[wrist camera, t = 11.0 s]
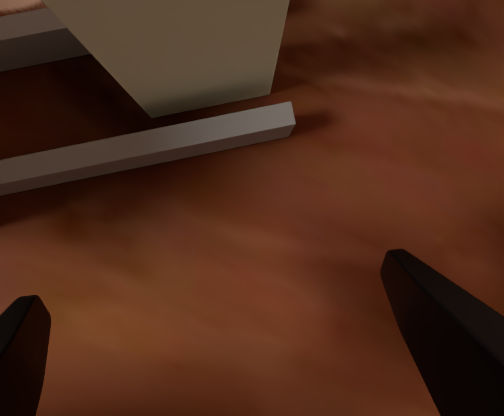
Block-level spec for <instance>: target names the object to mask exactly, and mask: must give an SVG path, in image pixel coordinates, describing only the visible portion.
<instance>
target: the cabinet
mask: <svg viewBox="0 0 504 416" xmlns="http://www.w3.org/2000/svg"><path fill="white" fill-rule="evenodd" d="M88 54H91V53H90V52H89V51H88V50H87V49H86V48H85V46H84V45H83V44H82V43H81V42H80V41H79V40H78V39H77V38H76V37H75V36H74V35H73V34H72V33H71V32H70V30H69V29H68V28H67V27H66V26H65V25H64V24H63V23H62V22H61V21H60V20H59V19H58V18H57V17H56V15H55V14H54V13H53V12H52V11H51V10H50V9H49V8H43V9H38V10H33V11H27V12H22V13H17V14H12V15H7V16H1V17H0V72H2V71H7V70H12V69H17V68H22V67H27V66H32V65H37V64H42V63H48V62H53V61H58V60H63V59H68V58H73V57H78V56H83V55H88ZM295 124H296V123H295V118H294V113H293V108H292V104H291V101H290V102H285V103H280V104H275V105H270V106H265V107H260V108H255V109H250V110H245V111H240V112H235V113H230V114H225V115H220V116H216V117H211V118H206V119H201V120H196V121H191V122H186V123H181V124H176V125H171V126H166V127H161V128H156V129H151V130H146V131H141V132H136V133H131V134H126V135H121V136H116V137H112V138H107V139H102V140H97V141H92V142H87V143H82V144H77V145H72V146H67V147H62V148H57V149H52V150H47V151H42V152H37V153H32V154H27V155H22V156H17V157H12V158H8V159H3V160H0V196H2V195H6V194H11V193H16V192H21V191H26V190H31V189H36V188H41V187H46V186H50V185H55V184H60V183H65V182H70V181H75V180H80V179H85V178H90V177H94V176H99V175H104V174H109V173H114V172H119V171H124V170H129V169H134V168H138V167H143V166H148V165H153V164H158V163H163V162H168V161H173V160H178V159H182V158H187V157H192V156H197V155H202V154H207V153H212V152H217V151H222V150H227V149H231V148H236V147H241V146H246V145H251V144H256V143H261V142H266V141H271V140H275V139H280V138H285V137H289V135H290V134H291V132H292V130H293V128H294V126H295Z"/></svg>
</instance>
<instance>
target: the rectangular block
mask: <svg viewBox="0 0 504 416" xmlns="http://www.w3.org/2000/svg"><path fill="white" fill-rule="evenodd" d="M41 1H42V2H43V3H44V4H45V5H46V6H47V7H48V8H49V9H50V10H51V11H52V12H53V13H54V14H55V15H56V17H57V18H58V19H59V20H60V21H61V22H62V23H63V24H64V25H65V26H66V27H67V28H68V29H69V30H70V32H71V33H72V34H73V35H74V36H75V37H76V38H77V39H78V40H79V41H80V42H81V43H82V44H83V45H84V46H85V48H86V49H87V50H88V51H89V52H90V53H91V54H92V55H93V56H94V57H95V58H96V59H97V60H98V61H99V63H100V64H101V65H102V66H103V67H104V68H105V69H106V70H107V71H108V72H109V73H110V74H111V75H112V76H113V77H114V79H115V80H116V81H117V82H118V83H119V84H120V85H121V86H122V87H123V88H124V89H125V90H126V91H127V92H128V94H129V95H130V96H131V97H132V98H133V99H134V100H135V101H136V102H137V103H138V104H139V105H140V106H141V107H142V109H143V110H144V111H145V112H146V113H147V114H148V115H149V116H150V117H151V118H155V117H160V116H165V115H170V114H175V113H180V112H185V111H190V110H195V109H200V108H205V107H210V106H215V105H220V104H225V103H230V102H235V101H240V100H245V99H250V98H255V97H260V96H265V95H270V92H271V87H272V82H273V77H274V73H275V68H276V63H277V58H278V54H279V49H280V44H281V39H282V34H283V30H284V25H285V20H286V15H287V11H288V6H289V1H290V0H41Z"/></svg>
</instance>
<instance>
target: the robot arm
mask: <svg viewBox="0 0 504 416" xmlns="http://www.w3.org/2000/svg"><path fill="white" fill-rule="evenodd" d="M380 274H381V279H382V282H383V285H384V288H385V291H386V293H387V296H388V299H389V302H390V305H391V308H392V310H393V313H394V316H395V319H396V322H397V324H398V327H399V329H400V332H401V334H402V336H403V338H404V340H405V342H406V344H407V347H408V349H409V351H410V353H411V355H412V357H413V359H414V361H415V363H416V365H417V367H418V370H419V372H420V374H421V376H422V378H423V380H424V382H425V384H426V386H427V388H428V390H429V393H430V395H431V397H432V399H433V401H434V403H435V405H436V407H437V409H438V411H439V413H440V416H504V316H502V315H501V314H499V313H498V312H496V311H495V310H493V309H492V308H491V307H489V306H488V305H486V304H485V303H483V302H482V301H480V300H479V299H477V298H476V297H474V296H473V295H471V294H470V293H468V292H467V291H465V290H464V289H462V288H461V287H459V286H458V285H456V284H455V283H453V282H452V281H450V280H449V279H447V278H446V277H444V276H443V275H442V274H440V273H439V272H437V271H436V270H434V269H433V268H431V267H430V266H428V265H427V264H425V263H424V262H422V261H421V260H419V259H418V258H416V257H415V256H413V255H412V254H410V253H409V252H407V251H406V250H404V249H393V250H388V251H387V252H386V255H385V258H384V261H383V264H382V267H381V271H380ZM50 328H51V316H50V314H49V312H48V310H47V308H46V307H45V305H44V303H43V302H42V300H41V299H40V297H39V296H37V295H30V296H22V297H19V298H17V299H16V300H15V301H14V302H13V303H12V304H11V305H10V306H9V307H8V308H7V309H6V310H5V311H4V312H3V313H2V314H1V315H0V416H36V412H37V408H38V404H39V400H40V396H41V391H42V387H43V381H44V375H45V367H46V360H47V352H48V344H49V336H50Z"/></svg>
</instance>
